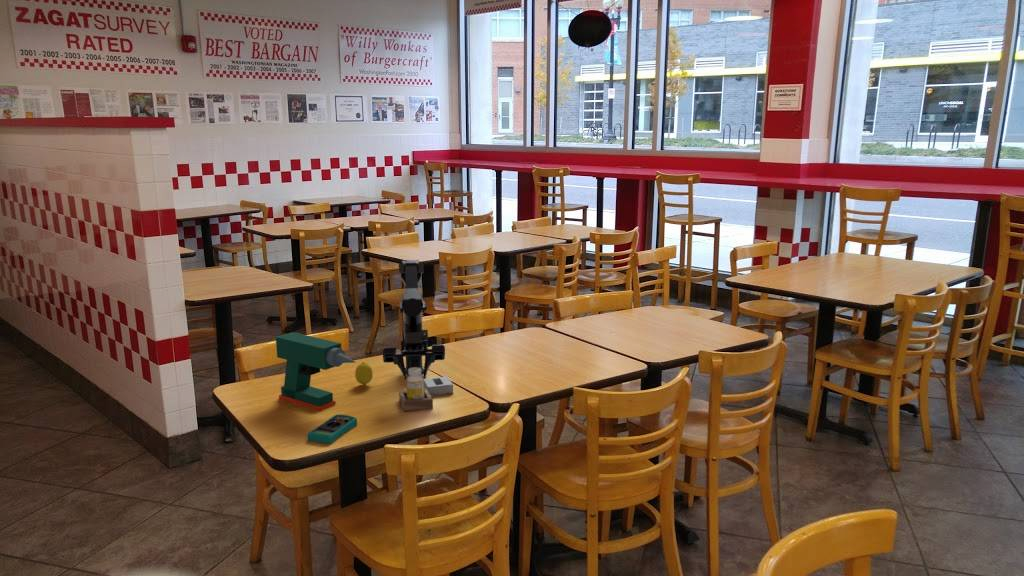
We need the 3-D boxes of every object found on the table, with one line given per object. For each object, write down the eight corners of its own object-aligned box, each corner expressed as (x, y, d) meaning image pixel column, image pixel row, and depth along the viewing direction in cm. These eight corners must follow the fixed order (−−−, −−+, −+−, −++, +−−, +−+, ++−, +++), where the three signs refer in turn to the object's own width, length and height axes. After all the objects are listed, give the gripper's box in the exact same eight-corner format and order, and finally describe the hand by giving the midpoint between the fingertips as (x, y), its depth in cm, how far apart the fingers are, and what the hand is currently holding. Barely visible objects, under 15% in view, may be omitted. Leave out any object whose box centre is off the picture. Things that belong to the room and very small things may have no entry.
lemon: (365, 389, 231) (364, 365, 230) (352, 386, 234) (351, 363, 232) (376, 384, 236) (375, 361, 234) (363, 381, 239) (362, 358, 237)
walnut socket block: (399, 400, 222) (398, 391, 221) (426, 397, 224) (426, 388, 224) (404, 412, 212) (404, 402, 212) (432, 409, 215) (432, 399, 214)
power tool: (368, 413, 212) (365, 348, 208) (351, 421, 206) (347, 354, 202) (297, 391, 229) (293, 331, 225) (279, 398, 224) (274, 336, 220)
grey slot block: (423, 387, 233) (423, 378, 232) (447, 385, 235) (447, 376, 235) (428, 396, 225) (428, 387, 225) (453, 393, 228) (453, 384, 227)
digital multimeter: (359, 425, 205) (358, 415, 204) (330, 446, 191) (329, 435, 190) (336, 422, 207) (335, 412, 206) (306, 442, 193) (305, 432, 192)
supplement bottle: (418, 403, 215) (417, 373, 213) (403, 400, 217) (402, 370, 215) (428, 397, 219) (427, 367, 217) (413, 395, 222) (412, 365, 220)
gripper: (381, 321, 215) (382, 368, 207) (444, 319, 218) (447, 365, 210) (383, 339, 225) (383, 384, 217) (443, 336, 227) (445, 381, 219)
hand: (415, 378), depth 215 cm, fingers closed on supplement bottle, 5 cm apart
